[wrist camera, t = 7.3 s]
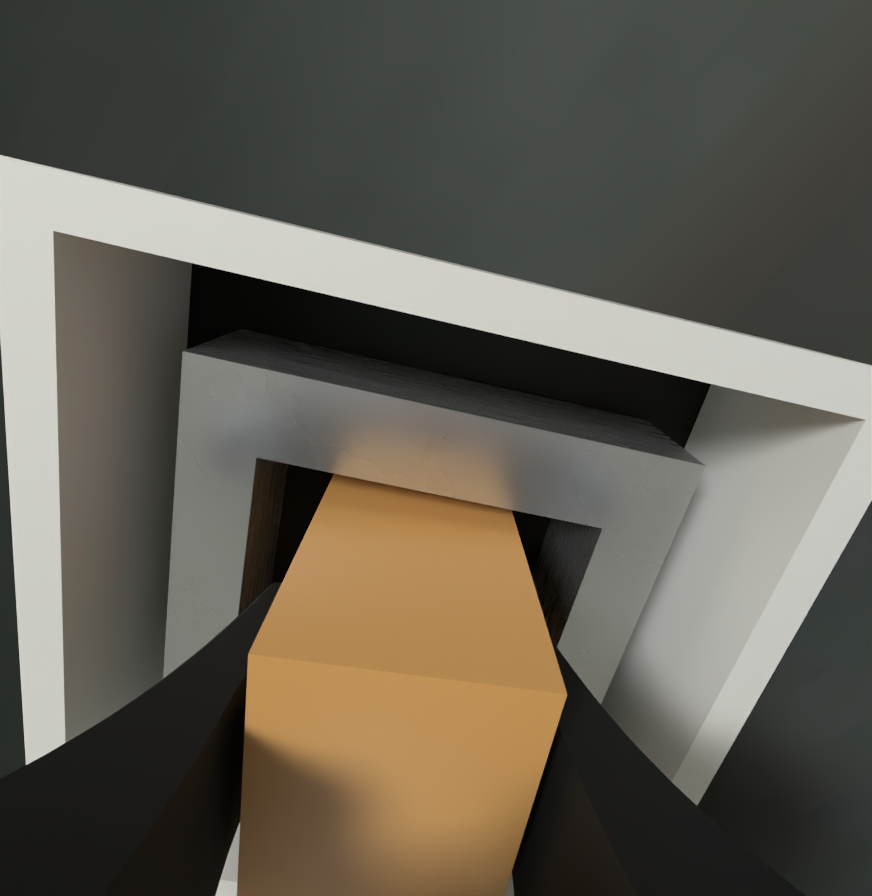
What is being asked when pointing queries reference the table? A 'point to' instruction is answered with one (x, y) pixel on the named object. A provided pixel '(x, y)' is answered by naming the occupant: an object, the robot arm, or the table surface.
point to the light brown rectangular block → (396, 703)
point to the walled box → (414, 292)
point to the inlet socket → (415, 481)
